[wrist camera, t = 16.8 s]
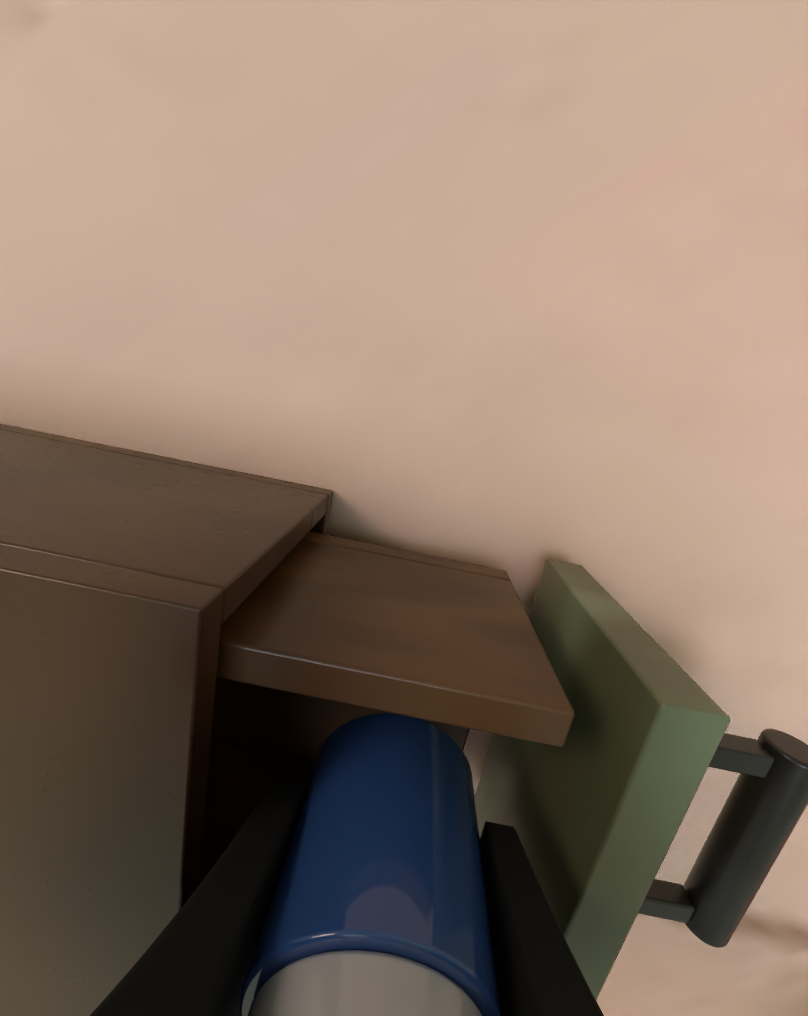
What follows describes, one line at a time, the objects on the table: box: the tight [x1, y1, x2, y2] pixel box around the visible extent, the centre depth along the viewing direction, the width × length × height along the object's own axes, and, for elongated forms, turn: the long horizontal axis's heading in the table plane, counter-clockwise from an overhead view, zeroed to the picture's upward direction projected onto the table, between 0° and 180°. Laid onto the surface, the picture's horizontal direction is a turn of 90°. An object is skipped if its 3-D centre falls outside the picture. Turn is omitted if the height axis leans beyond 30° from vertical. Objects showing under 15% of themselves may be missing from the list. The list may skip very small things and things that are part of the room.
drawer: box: [198, 531, 808, 1000], centre depth 11 cm, size 17×10×7 cm, turn 79°
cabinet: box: [0, 424, 333, 1016], centre depth 11 cm, size 13×11×8 cm
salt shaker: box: [239, 713, 502, 1016], centre depth 8 cm, size 4×4×5 cm
